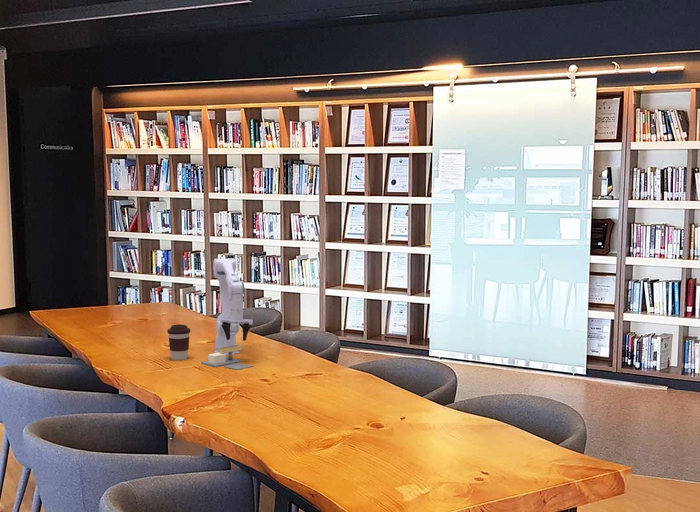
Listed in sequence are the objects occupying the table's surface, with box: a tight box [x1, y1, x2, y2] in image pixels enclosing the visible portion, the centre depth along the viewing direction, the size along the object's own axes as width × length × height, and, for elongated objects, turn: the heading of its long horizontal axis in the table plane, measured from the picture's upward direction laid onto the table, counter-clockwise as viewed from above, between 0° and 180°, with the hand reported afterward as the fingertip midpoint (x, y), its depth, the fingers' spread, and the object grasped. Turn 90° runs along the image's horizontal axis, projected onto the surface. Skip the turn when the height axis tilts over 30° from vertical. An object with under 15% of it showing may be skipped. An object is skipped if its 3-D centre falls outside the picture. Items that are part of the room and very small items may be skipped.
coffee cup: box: [167, 324, 191, 361], centre depth 342 cm, size 10×10×15 cm
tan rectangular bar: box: [219, 344, 243, 353], centre depth 337 cm, size 2×11×2 cm, turn 138°
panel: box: [201, 352, 242, 368], centre depth 333 cm, size 10×14×5 cm
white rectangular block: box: [207, 352, 227, 364], centre depth 332 cm, size 4×6×4 cm
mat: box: [223, 362, 254, 371], centre depth 328 cm, size 9×9×1 cm
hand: (236, 340), depth 337 cm, fingers open, 7 cm apart
